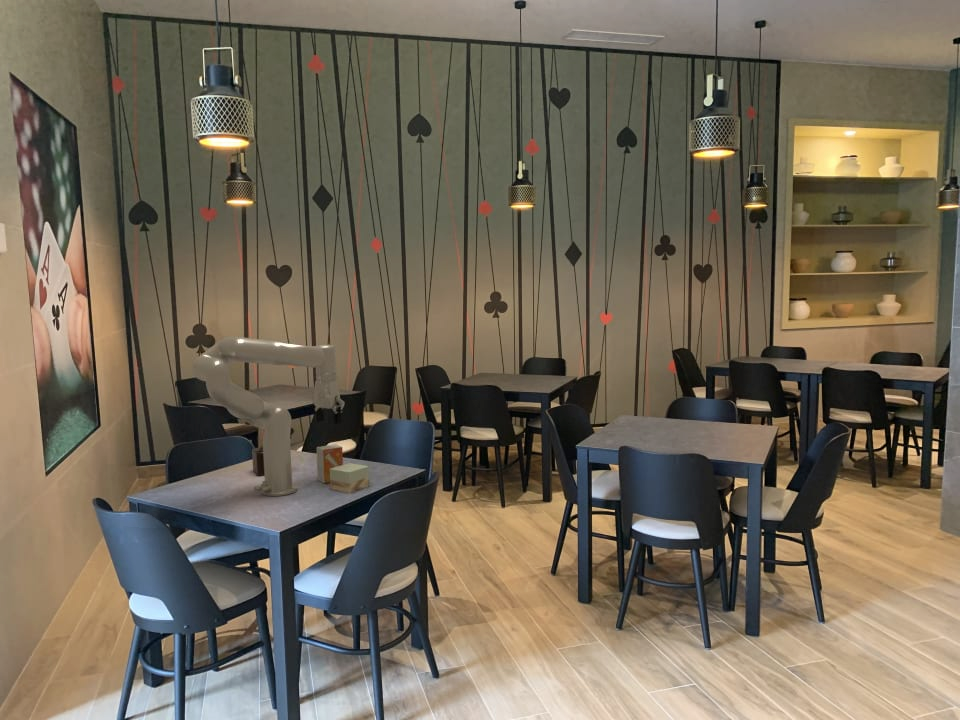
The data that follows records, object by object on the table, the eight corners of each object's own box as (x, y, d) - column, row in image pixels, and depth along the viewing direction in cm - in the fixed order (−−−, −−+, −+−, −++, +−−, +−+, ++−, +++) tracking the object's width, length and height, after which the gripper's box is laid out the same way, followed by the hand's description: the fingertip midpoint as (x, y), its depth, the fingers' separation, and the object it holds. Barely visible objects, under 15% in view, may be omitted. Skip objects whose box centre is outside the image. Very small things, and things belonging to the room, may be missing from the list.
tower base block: (349, 494, 263) (349, 483, 263) (330, 490, 269) (330, 479, 269) (369, 487, 271) (369, 477, 271) (350, 483, 277) (350, 473, 277)
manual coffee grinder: (258, 477, 288) (255, 431, 286) (252, 471, 298) (249, 427, 296) (297, 471, 295) (295, 427, 293) (290, 465, 305) (288, 423, 303)
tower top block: (349, 483, 263) (349, 472, 262) (330, 479, 268) (329, 468, 268) (369, 476, 271) (368, 466, 270) (349, 473, 277) (349, 463, 276)
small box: (324, 483, 276) (322, 449, 275) (317, 480, 281) (315, 446, 280) (344, 480, 281) (342, 446, 279) (337, 476, 286) (335, 443, 284)
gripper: (303, 377, 279) (306, 421, 281) (334, 380, 269) (337, 426, 271) (318, 375, 285) (321, 418, 287) (349, 377, 275) (352, 422, 276)
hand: (329, 422), depth 279 cm, fingers open, 9 cm apart
